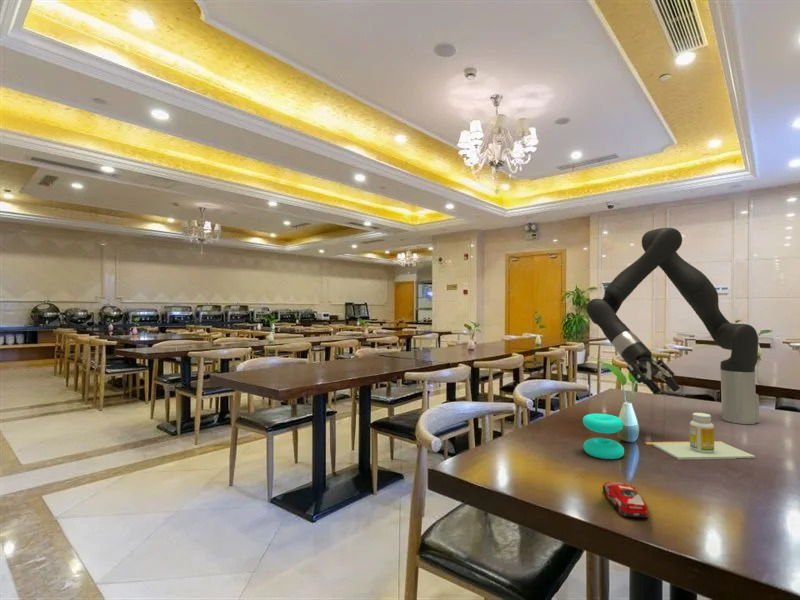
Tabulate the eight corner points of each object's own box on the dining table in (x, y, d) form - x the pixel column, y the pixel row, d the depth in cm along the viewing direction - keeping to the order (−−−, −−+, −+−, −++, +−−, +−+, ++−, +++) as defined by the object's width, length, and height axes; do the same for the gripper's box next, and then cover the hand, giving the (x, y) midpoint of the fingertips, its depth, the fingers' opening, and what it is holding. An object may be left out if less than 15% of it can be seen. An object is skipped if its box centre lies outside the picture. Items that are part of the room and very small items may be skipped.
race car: (600, 490, 92) (599, 472, 92) (626, 492, 91) (626, 473, 91) (620, 520, 79) (619, 498, 79) (651, 522, 78) (651, 500, 78)
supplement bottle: (687, 449, 114) (686, 414, 115) (693, 445, 118) (692, 410, 118) (711, 454, 110) (710, 418, 110) (717, 450, 114) (716, 414, 114)
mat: (722, 444, 120) (722, 442, 120) (755, 458, 109) (755, 456, 109) (652, 445, 120) (652, 443, 120) (678, 459, 109) (678, 457, 109)
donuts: (628, 416, 114) (617, 424, 107) (629, 453, 114) (618, 463, 107) (589, 410, 121) (577, 417, 114) (590, 445, 121) (577, 454, 114)
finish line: (720, 442, 122) (720, 441, 122) (724, 443, 121) (724, 442, 121) (644, 443, 122) (644, 442, 122) (647, 444, 121) (647, 443, 121)
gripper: (622, 342, 128) (660, 386, 117) (653, 339, 134) (692, 381, 123) (608, 357, 133) (643, 401, 122) (638, 355, 139) (674, 396, 128)
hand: (668, 391), depth 123 cm, fingers open, 8 cm apart
